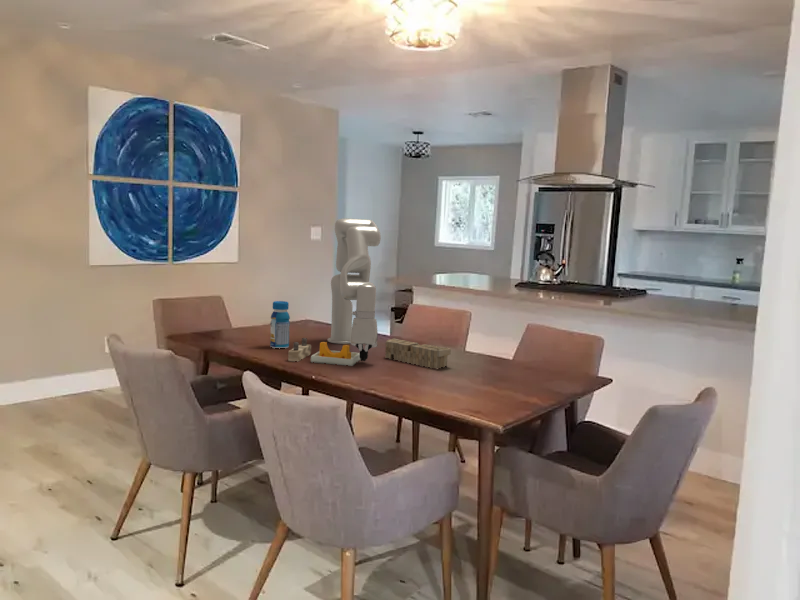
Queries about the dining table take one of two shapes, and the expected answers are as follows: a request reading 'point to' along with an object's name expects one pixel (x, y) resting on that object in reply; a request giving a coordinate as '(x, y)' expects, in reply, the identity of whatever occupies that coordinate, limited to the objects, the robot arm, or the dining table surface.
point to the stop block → (299, 351)
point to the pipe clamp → (343, 353)
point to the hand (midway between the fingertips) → (363, 360)
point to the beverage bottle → (280, 325)
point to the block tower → (417, 353)
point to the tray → (336, 359)
